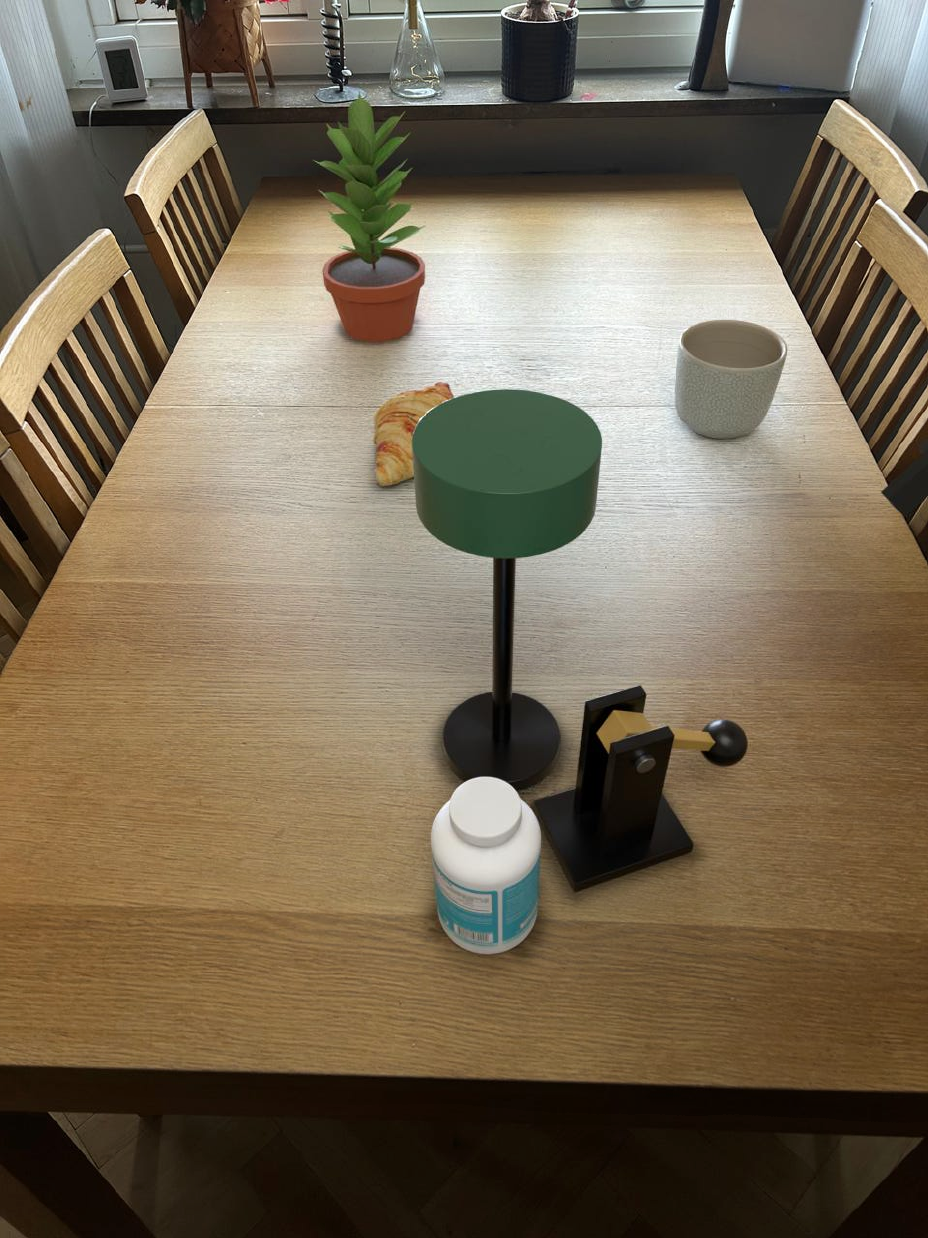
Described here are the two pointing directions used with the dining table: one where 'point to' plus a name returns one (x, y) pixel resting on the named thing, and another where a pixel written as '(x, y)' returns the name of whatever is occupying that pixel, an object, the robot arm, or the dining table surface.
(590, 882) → the switch bracket
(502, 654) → the desk lamp
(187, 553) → the dining table surface
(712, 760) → the lamp switch
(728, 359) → the planter
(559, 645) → the dining table surface
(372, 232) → the potted plant
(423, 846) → the dining table surface
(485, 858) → the pill bottle
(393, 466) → the croissant
